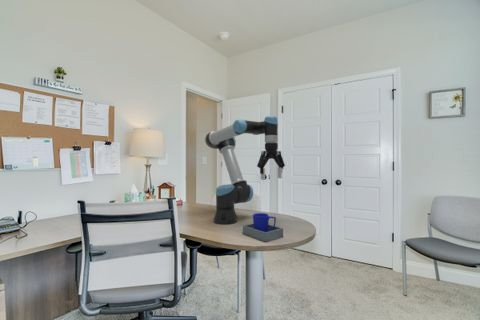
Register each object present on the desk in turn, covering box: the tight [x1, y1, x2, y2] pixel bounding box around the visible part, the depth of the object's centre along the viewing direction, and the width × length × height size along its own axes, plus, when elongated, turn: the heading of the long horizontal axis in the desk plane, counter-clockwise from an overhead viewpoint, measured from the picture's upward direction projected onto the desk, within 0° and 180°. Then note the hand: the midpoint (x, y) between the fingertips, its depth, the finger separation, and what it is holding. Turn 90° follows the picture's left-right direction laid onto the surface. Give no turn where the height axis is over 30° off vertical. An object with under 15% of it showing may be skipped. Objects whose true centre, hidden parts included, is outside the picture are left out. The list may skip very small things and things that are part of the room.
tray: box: [242, 223, 284, 243], centre depth 129 cm, size 17×12×4 cm
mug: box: [252, 212, 277, 232], centre depth 129 cm, size 8×12×10 cm
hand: (271, 178), depth 145 cm, fingers open, 13 cm apart
